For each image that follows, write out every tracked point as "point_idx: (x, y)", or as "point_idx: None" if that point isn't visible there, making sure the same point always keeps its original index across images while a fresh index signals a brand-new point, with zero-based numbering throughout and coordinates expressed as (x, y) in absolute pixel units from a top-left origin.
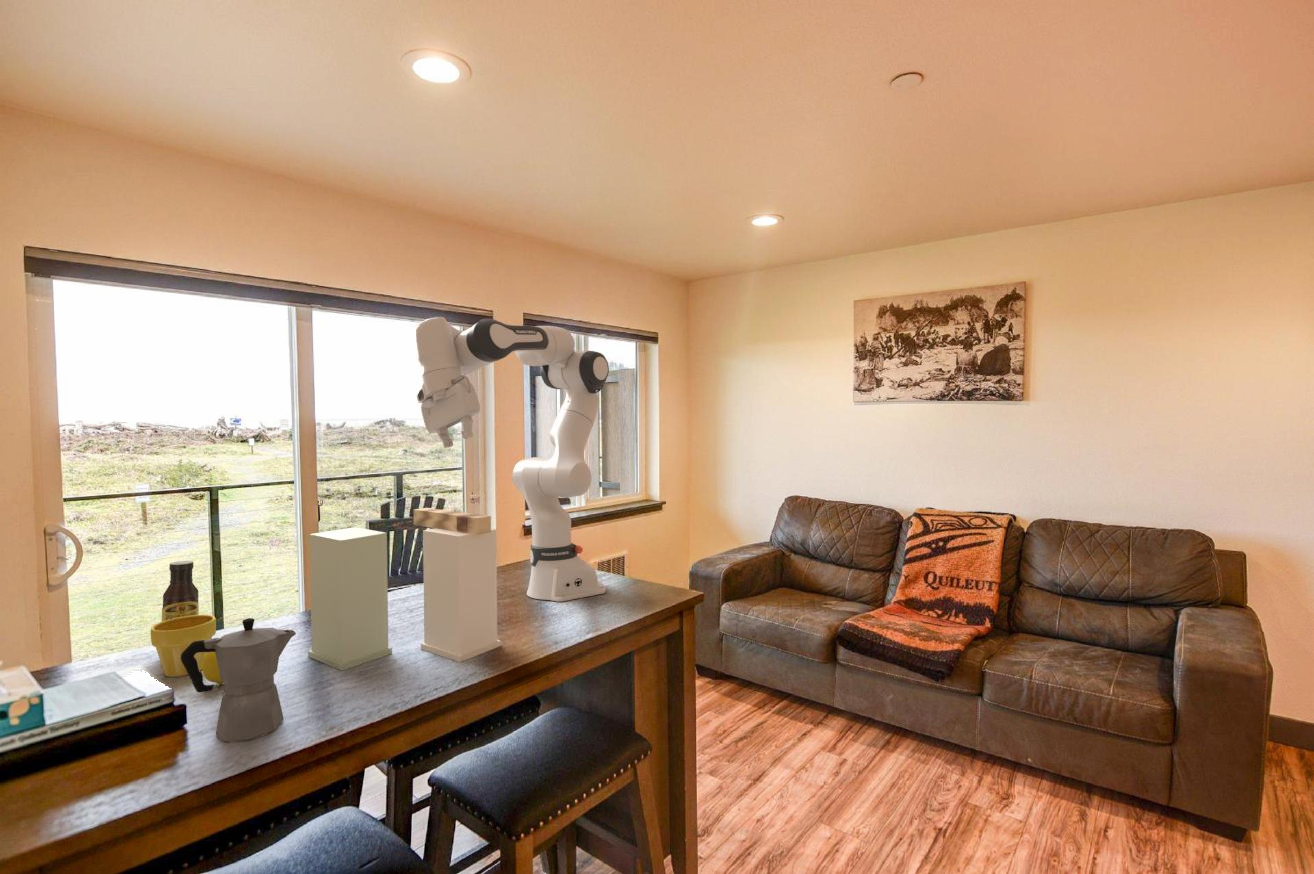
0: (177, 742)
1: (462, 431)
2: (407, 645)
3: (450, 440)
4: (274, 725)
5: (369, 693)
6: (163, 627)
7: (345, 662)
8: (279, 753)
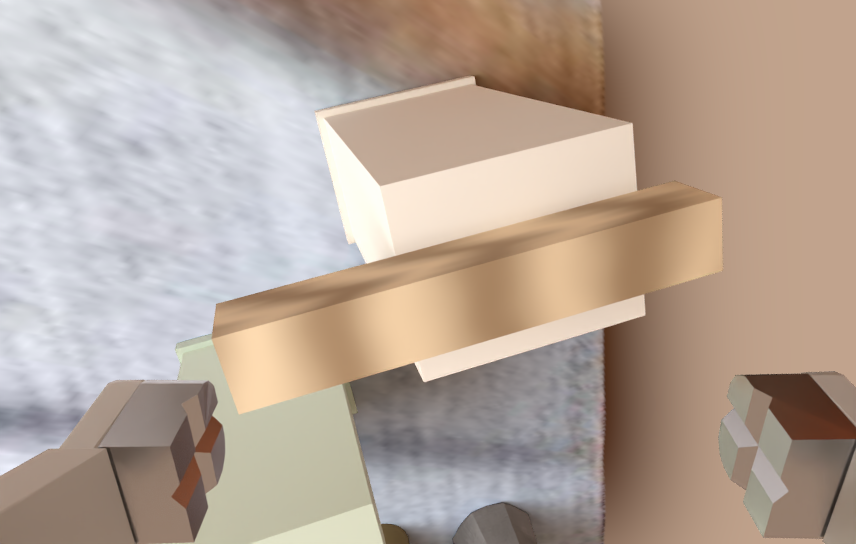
0: None
1: (792, 534)
2: (296, 256)
3: (190, 456)
4: (527, 517)
5: (501, 385)
6: None
7: (350, 404)
8: (592, 508)
